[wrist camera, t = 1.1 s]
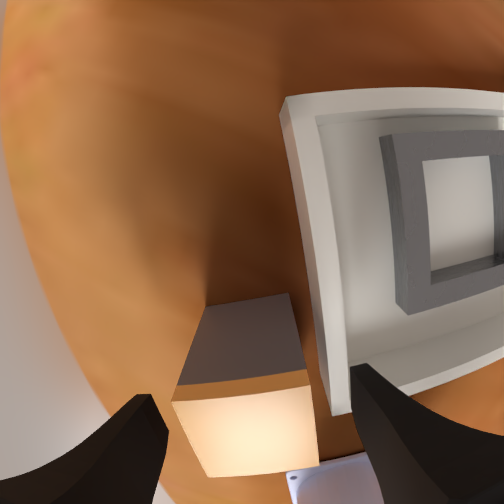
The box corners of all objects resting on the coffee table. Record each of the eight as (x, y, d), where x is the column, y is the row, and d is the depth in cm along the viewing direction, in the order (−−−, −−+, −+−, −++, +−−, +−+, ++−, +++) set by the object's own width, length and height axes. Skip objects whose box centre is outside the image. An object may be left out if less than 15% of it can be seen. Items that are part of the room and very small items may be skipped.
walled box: (531, 303, 15) (562, 323, 11) (320, 373, 16) (332, 416, 12) (527, 108, 12) (565, 103, 8) (278, 115, 13) (285, 96, 9)
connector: (299, 361, 16) (319, 465, 9) (224, 373, 16) (208, 477, 9) (288, 292, 15) (310, 385, 8) (205, 306, 15) (171, 401, 8)
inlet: (505, 270, 14) (521, 278, 12) (395, 302, 14) (407, 315, 13) (499, 131, 12) (516, 130, 10) (378, 137, 12) (392, 134, 11)
